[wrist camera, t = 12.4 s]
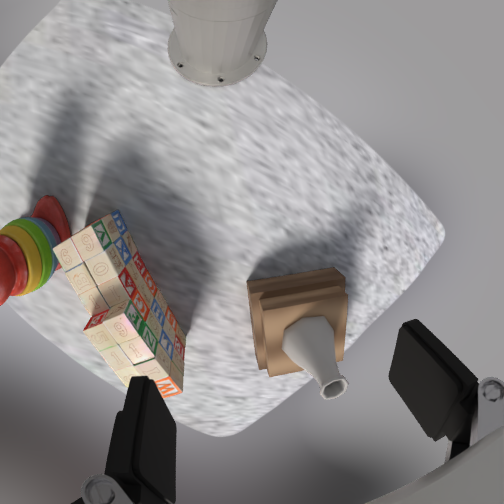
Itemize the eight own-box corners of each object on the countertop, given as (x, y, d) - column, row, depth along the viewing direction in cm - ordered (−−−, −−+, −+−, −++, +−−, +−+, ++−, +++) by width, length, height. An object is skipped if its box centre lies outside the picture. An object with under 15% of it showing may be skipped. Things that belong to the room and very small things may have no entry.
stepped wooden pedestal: (246, 281, 40) (254, 305, 33) (334, 267, 41) (355, 286, 34) (255, 354, 44) (262, 383, 37) (331, 338, 45) (348, 363, 39)
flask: (328, 306, 35) (364, 352, 25) (335, 348, 37) (366, 395, 28) (274, 326, 34) (296, 380, 25) (286, 366, 37) (307, 419, 27)
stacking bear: (52, 188, 32) (-34, 213, 15) (87, 247, 35) (19, 306, 18) (12, 231, 32) (-63, 271, 15) (45, 283, 35) (-18, 346, 19)
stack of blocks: (82, 227, 34) (38, 256, 23) (118, 208, 34) (80, 230, 23) (153, 349, 41) (140, 405, 30) (187, 337, 41) (183, 394, 30)
